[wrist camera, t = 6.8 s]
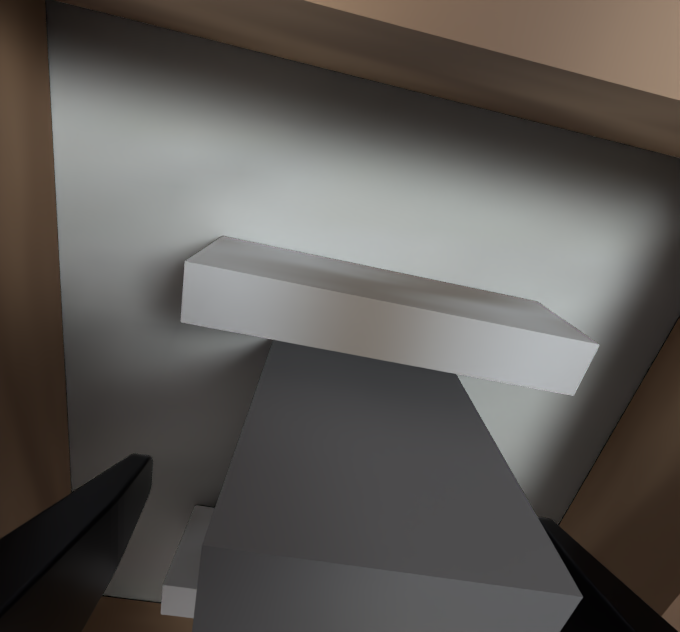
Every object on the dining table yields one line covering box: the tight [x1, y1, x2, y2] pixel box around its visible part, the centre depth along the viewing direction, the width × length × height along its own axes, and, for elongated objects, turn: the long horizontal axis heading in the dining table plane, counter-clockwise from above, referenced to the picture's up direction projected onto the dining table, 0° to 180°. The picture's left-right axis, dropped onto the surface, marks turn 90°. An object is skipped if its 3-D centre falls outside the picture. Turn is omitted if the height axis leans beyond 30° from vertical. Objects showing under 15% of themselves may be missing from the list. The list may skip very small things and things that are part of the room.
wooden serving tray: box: [0, 0, 680, 632], centre depth 10 cm, size 18×20×4 cm
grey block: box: [192, 340, 583, 632], centre depth 8 cm, size 5×5×7 cm
